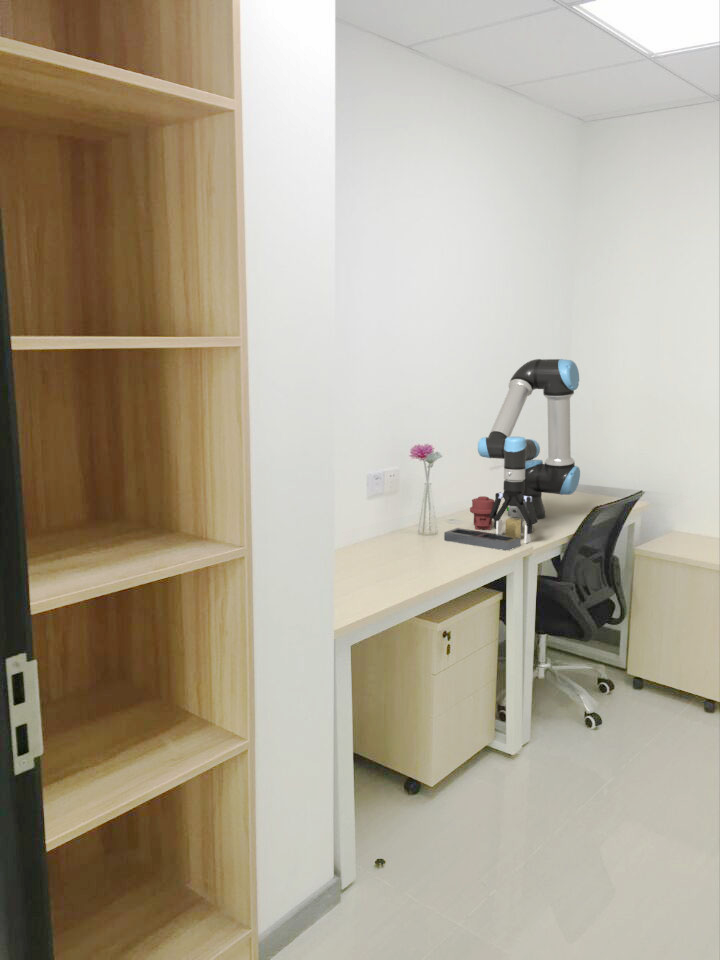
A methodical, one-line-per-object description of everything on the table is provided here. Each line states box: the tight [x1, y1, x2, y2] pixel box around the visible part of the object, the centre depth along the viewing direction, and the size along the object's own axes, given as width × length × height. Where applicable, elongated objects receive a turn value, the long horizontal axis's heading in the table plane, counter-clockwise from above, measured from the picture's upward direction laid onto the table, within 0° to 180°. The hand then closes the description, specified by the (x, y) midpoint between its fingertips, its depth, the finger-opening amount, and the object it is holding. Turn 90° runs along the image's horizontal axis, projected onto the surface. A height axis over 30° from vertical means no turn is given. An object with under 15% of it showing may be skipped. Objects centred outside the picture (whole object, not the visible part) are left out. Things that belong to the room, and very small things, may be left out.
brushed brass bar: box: [504, 517, 522, 538], centre depth 303 cm, size 4×4×8 cm
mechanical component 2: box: [469, 495, 495, 531], centre depth 322 cm, size 12×10×10 cm
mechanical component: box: [506, 506, 535, 534], centre depth 315 cm, size 3×10×10 cm, turn 79°
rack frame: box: [443, 527, 522, 551], centre depth 300 cm, size 9×26×3 cm, turn 51°
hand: (512, 540), depth 303 cm, fingers open, 11 cm apart
